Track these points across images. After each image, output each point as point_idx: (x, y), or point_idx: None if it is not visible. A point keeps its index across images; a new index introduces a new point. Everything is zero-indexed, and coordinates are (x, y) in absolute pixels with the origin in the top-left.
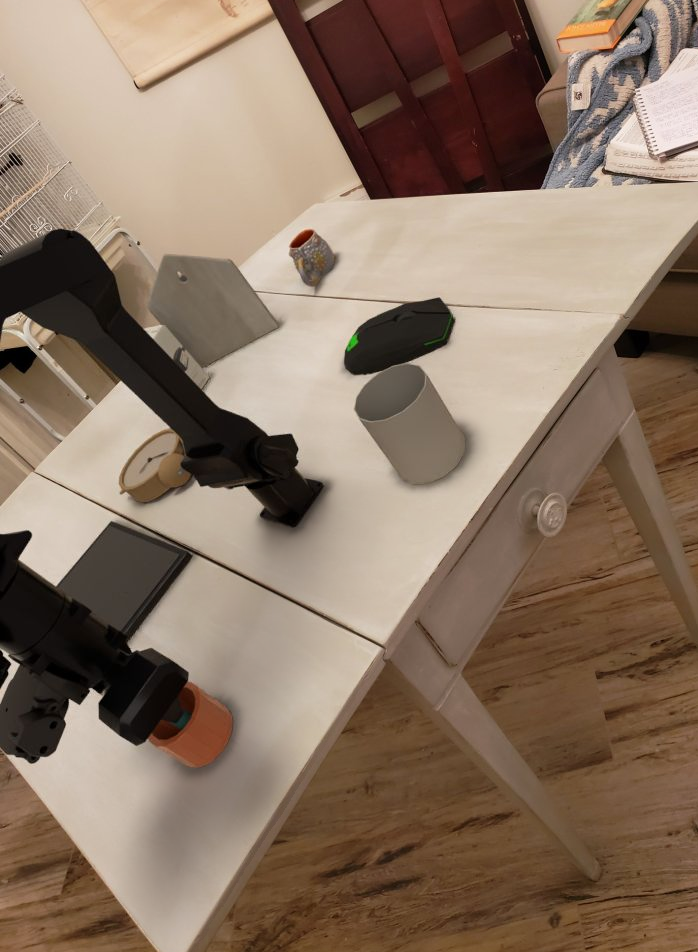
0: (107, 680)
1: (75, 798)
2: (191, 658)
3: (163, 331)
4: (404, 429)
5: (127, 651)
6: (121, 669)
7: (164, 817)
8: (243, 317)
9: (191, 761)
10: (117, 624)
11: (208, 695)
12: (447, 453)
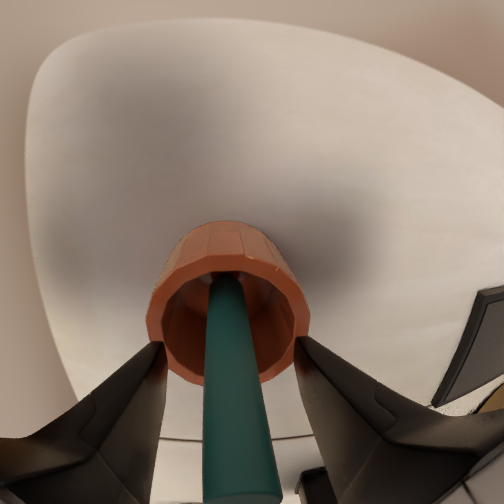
0: (371, 449)
1: (415, 84)
2: (360, 343)
3: None
4: None
5: (342, 500)
6: (344, 466)
7: (195, 129)
8: None
9: (184, 240)
10: (492, 312)
11: None
12: None
